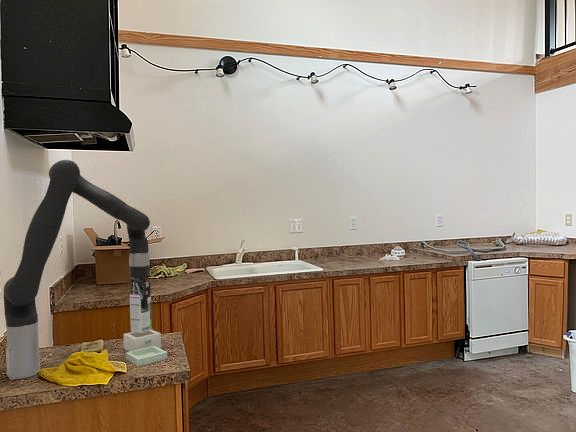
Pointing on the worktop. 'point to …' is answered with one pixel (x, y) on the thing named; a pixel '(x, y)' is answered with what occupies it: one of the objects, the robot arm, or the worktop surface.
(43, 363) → the worktop surface
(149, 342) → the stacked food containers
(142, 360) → the tray
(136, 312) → the syrup box
